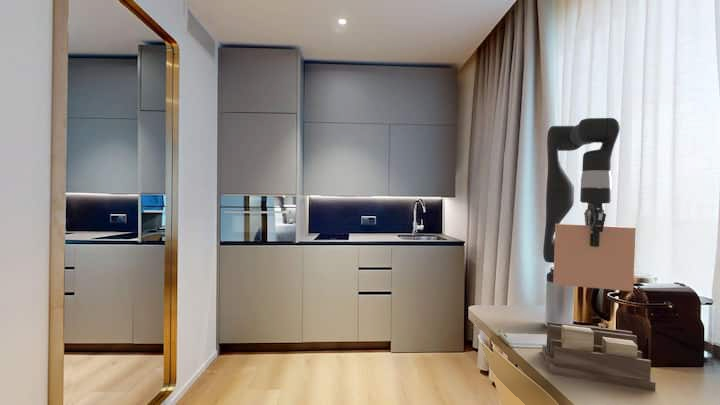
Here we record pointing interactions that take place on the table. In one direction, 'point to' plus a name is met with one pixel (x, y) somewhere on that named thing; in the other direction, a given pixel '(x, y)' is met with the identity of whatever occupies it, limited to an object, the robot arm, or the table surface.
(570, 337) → the offcut stack
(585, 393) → the table surface
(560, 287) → the robot arm
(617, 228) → the terracotta board
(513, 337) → the baseboard molding
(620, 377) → the walnut rack
